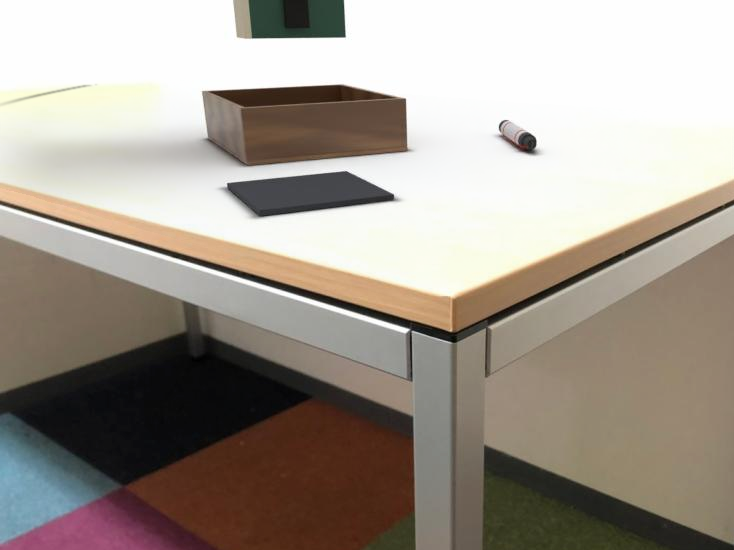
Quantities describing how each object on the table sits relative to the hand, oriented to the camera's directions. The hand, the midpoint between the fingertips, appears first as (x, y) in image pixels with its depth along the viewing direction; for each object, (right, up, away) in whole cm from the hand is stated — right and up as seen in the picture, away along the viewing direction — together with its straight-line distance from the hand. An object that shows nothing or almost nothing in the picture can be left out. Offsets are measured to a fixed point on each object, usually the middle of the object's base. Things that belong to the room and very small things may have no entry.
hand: (291, 27), depth 88 cm
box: (0, -12, +6) cm, 14 cm away
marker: (+27, -13, +5) cm, 31 cm away
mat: (+6, -24, -20) cm, 31 cm away
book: (0, -1, 0) cm, 1 cm away
